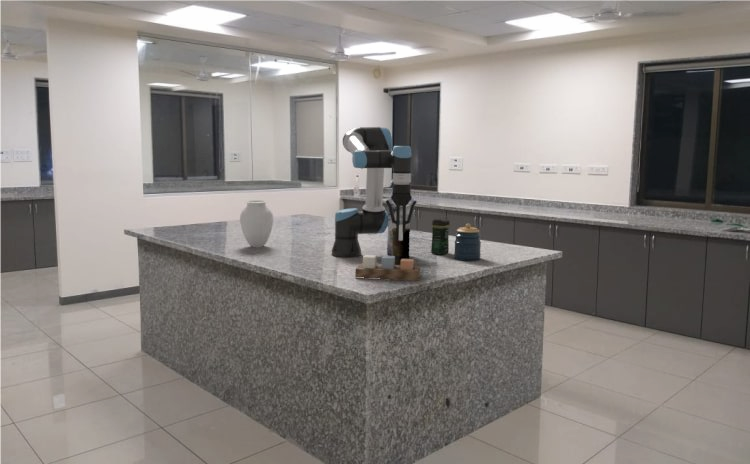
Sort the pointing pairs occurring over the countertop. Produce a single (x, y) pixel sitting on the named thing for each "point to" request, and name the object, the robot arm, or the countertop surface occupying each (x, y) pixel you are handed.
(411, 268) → the terracotta key
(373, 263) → the ivory key
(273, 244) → the countertop surface
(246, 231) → the vase
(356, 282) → the countertop surface
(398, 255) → the container
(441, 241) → the coffee jar
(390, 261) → the slate key
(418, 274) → the key panel
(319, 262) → the countertop surface
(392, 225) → the juice carton
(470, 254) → the canister
